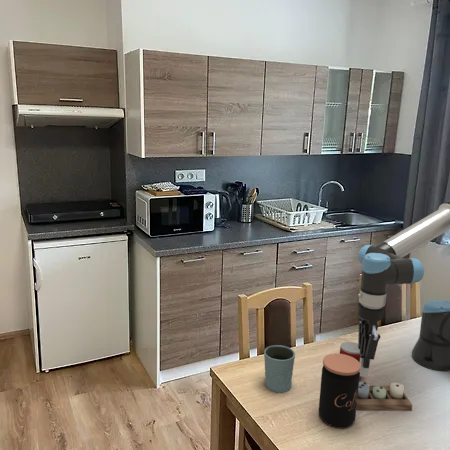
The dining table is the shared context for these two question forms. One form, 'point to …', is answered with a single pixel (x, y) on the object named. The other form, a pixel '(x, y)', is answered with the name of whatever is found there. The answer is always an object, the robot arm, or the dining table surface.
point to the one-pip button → (396, 390)
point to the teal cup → (278, 368)
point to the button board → (383, 402)
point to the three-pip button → (363, 390)
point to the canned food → (350, 350)
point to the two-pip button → (379, 392)
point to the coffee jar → (339, 390)
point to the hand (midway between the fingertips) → (363, 374)
